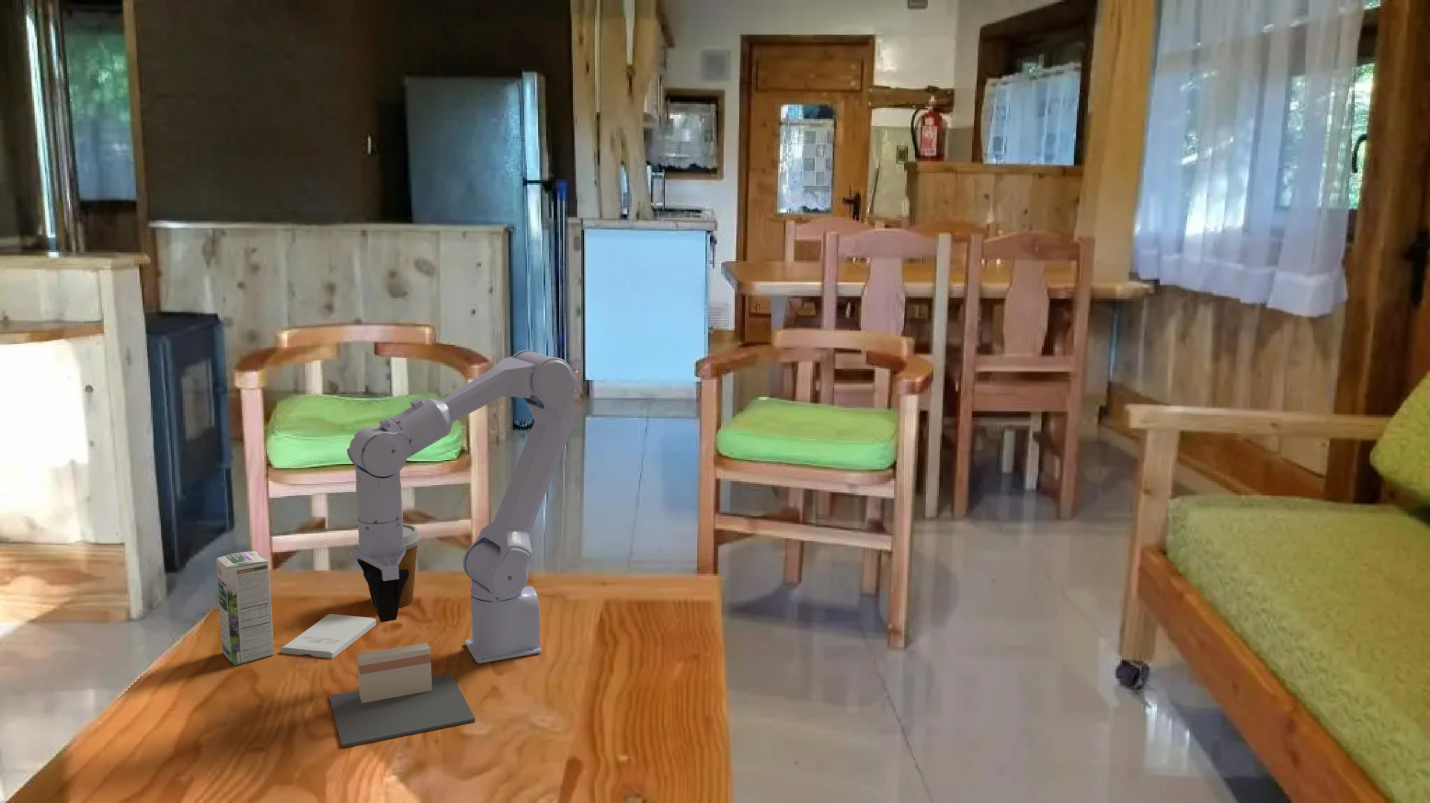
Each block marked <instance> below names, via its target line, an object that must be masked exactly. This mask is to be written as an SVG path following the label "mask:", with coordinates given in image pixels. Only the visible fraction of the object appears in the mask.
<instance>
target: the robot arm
mask: <svg viewBox="0 0 1430 803" xmlns="http://www.w3.org/2000/svg"><path fill="white" fill-rule="evenodd" d="M578 385H579V381H578V379H577V377H576V376H575V373H574V371H573V369H572V368H571V365H570V364H569V363H568V362H567V361H566V360H564V359H562V358H560V357H555V356H554V357H553V356H548V355H545V354H542V353H538V352H537V351H534V350H531V349H523V350H520V351H518V352H516V353H515V354H513V355H512V356H508V357H506V358H503V359H501V360H500V361H499V362H498V363H497V364H495V365H494V366H493V367H492V368H490V369H489V370H487V371H485V372H483V373H482V374H481V375H479V376H477V377H476V378H474V379H472V380H471V381H469V382H467V383H466V384H464V385H463V386H461V387H460V388H459V389H457V390H455V391H454V392H452V393H451V394H449V395H447V396H446V397H444V398H443V399H441V400H437V399H434V398H429V397H428V398H425V399H423V400H422V399H420V398H416V399H414V400H412V401H410V405H411V406H410V407H408V408H406V409H405V410H403V411H401V412H399V413H398V414H396V415H393V417H390V418H389V419H388V418H387V417H384V418H383V419H380V420H379V427H377V426H367V427H364V428H362V429H360V430H358V431H357V432H356V433H355V434H354V435H353V436H354V437H353V438H351V441H350V442H349V443H350V444H349V447H348V448H347V449H346V453H347V456H348V459H349V461H351V462H350V463H352V464H353V465H355V469H354V470H355V495H356V497H355V498H356V510H357V511H356V514H357V529H358V541H359V542H358V547H359V548H358V549H353V550H350V551H349V556H350V558H351V560H357V563H358V565H359V566H360V568H361V570H362V571H363V573H362V574H363V578H364V580H365V581H366V582H367V586H368V591H369V595H370V599H371V601H372V602H373V604H372V606H373V605H374V606H373V607H374V609H376V614H377V615H378V619H379V622H380V623H385V622H392V621H396V620H397V617H398V614H399V603H400V598H401V593H402V590H403V587H404V585H405V583H406V581H407V579H408V577H409V571H408V569H403V570H399V566H398V565H399V564H400V562H401V560H402V558H403V557H404V555H405V553H406V548H405V546H404V538H403V524H404V522H403V521H404V519H403V505H402V504H403V499H402V498H403V497H402V483H401V470H402V469H403V468H404V466H405V465H406V462H407V460H408V459H409V458H410V457H413V456H414V455H417V453H419V452H421V451H423V450H425V449H426V448H428V447H429V446H432V445H433V444H434V443H436V442H438V441H440V440H442V439H443V438H445V437H447V436H448V435H450V434H451V430H452V427H453V424H454V423H455V422H456V421H458V420H459V419H461V418H463V417H465V416H467V415H469V414H472V413H473V412H475V411H478V410H479V409H481V408H484V407H485V406H488V405H489V404H491V403H493V402H496V401H498V400H499V399H501V398H503V397H511V398H521V399H522V400H524V402H525V403H526V405H527V408H528V410H529V412H530V413H531V416H532V418H533V425H532V427H531V429H530V431H529V434H528V437H527V439H526V442H525V444H524V446H523V449H522V452H521V453H520V455H519V458H518V460H517V463H516V465H515V468H514V470H513V472H512V475H511V478H510V480H509V482H508V485H507V488H506V490H505V492H504V495H503V497H502V500H501V502H500V504H499V507H498V509H497V511H496V515H495V517H494V519H493V521H491V522H490V523H489V524H487V525H486V526H484V527H483V528H482V529H481V530H480V532H479V534H478V537H477V538H476V540H474V542H473V543H471V545H469V547H468V548H467V549H466V551H465V553H464V555H463V559H462V566H463V567H462V568H463V571H464V573H465V574H466V576H467V577H469V578H470V579H471V585H470V586H471V587H470V605H471V607H470V608H471V609H470V610H471V611H470V612H471V635H472V638H469V639H466V640H465V641H464V644H465V646H466V648H467V649H468V651H469V653H470V654H471V656H472V657H473V659H474V660H475V663H477V664H484V663H490V662H496V661H500V660H507V659H512V658H518V657H523V656H529V655H534V654H540V653H542V652H543V651H542V648H541V632H540V631H541V630H540V629H541V627H540V626H541V625H540V624H541V623H540V620H541V619H540V603H539V599H538V598H539V597H538V595H537V591H536V590H535V587H533V586H530V585H529V586H526V585H527V583H528V581H529V577H530V569H529V566H530V560H531V558H532V556H533V548H532V545H531V539H530V533H531V531H532V528H533V526H534V523H535V520H536V518H537V516H538V513H539V511H540V508H541V506H542V504H543V501H544V498H545V496H546V494H547V492H548V489H549V486H550V485H551V482H552V479H553V478H554V474H555V472H556V469H557V467H558V464H559V462H560V460H561V457H562V455H563V452H564V450H565V447H566V445H567V442H568V439H569V437H570V435H571V432H572V431H573V427H574V425H575V421H576V420H575V419H576V411H575V409H576V407H575V406H576V405H575V393H576V390H577V387H578ZM372 602H371V603H372Z"/></svg>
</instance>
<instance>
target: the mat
mask: <svg viewBox="0 0 1430 803" xmlns="http://www.w3.org/2000/svg"><path fill="white" fill-rule="evenodd" d="M329 701H330V705H331V709H332V713H333V716H334V720H335V726H336V729H337V732H338V736H339V740H340V743H341V744H340V745H341V748H342V749H343V748H349V747H353V746H358V745H364V744H368V743H375V742H378V741H384V740H388V739H394V738H398V737H404V736H408V735H414V734H418V733H419V734H420V733H423V732H428V731H433V730H437V729H443V728H448V727H453V726H458V725H463V724H469V723H473V722H476V718H475V716H474V713H473V712H472V710H471V709H470V707H469V706H470V705H469V704H468V702H467V700H466V698H465V697H464V695H463V692H462V691H461V689H460V687H459V685H458V683H457V680H456V679H455V678H454V676H453V674H452V673H448V674H443V675H436V676H432V690H431V691H426V692H421V693H415V694H410V695H404V696H399V697H393V698H388V699H382V700H377V701H372V702H366V703H362V702H361V699H360V693H359V689H358V690H352V691H346V692H342V693H336V694H335V693H334V694H330V695H329Z"/></svg>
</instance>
